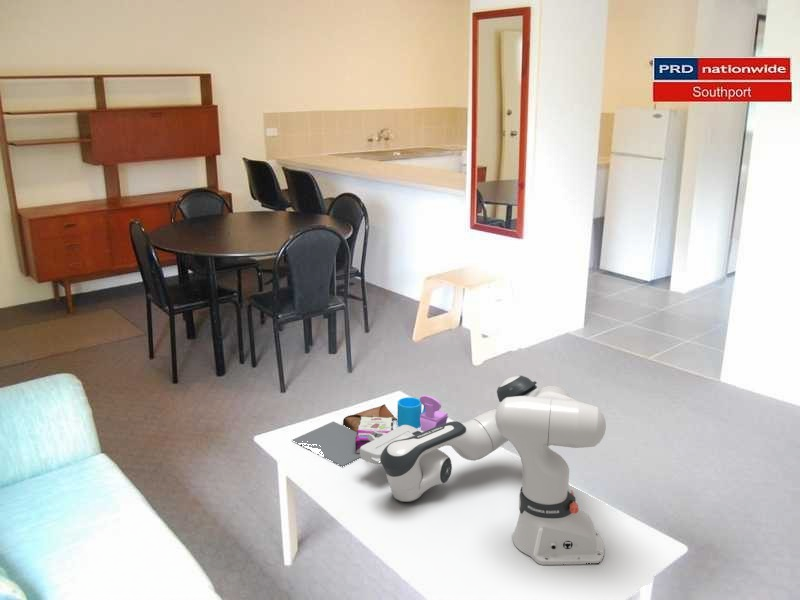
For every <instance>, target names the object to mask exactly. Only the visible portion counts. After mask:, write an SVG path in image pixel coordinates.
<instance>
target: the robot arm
mask: <svg viewBox="0 0 800 600" xmlns="http://www.w3.org/2000/svg"><path fill="white" fill-rule="evenodd" d="M536 384H538V382H537V381H532V380H531V379H530V378H529V377H526V376H524V375H515V376H514V375H513V376H510V377H508V378H506V379H505V380H504V381H503V382H502V383H501V384H500V386H498V387H497V389H496V394H497V399H498V401H499V402H500V403H499V404H498V406H497V408H494V409H491V410H487V411H485V412H483V413H480V414H479V415H477V416H475V417H472V418H471V419H469V420H467V421H465V422H460V421H455V420H454V421H448V422H446V423H445V424H442V425H439V426H437V427H434V428H432V429H429V430H427V431H422V430H421V429H418V428H417V429H416V428H414V427H412V426H409V425H402V426H400V427H399V426H398V427H396V428H393V430H392V431H390V432H388V433H378V432H376V431H374V432H372V433H370V434H368V439H369V440H370V441H371V442H369V443H367V444H365V445H363V446H361V447H360V457H361V458H360V459H361V460H363V461H365V462H368V463H370V464H372V465H381V466H382V469H383V471H384V473H385V476H386V479H387V481H388V482H387V483H388V485H389V487H390V491H391V493H392V496H393V498H394V499H395V500H396V501H398V502H402V503H413V502H415V501H417V500H418V499H420V498H421V497H422V495H423V494H424V493H425V492H426V491H428V490H429V489H431V488H432V487H434V486H439V485H443V484H445V483H447V481H448V480H449V478H450V477H451V475H452V471H453V466H452V465H453V464H452V459H451V457H450V456H449V455H448V454H446V453H445V452H444V451H442V450H440V448H442V447H446V446H450V447H451V448H452V450H453V451H454V452H456V453H457V455H459V456H460V457H461V458H463V459H465V460H467V461H471V462H472V461H473V462H475V461H479V460H481V459H484V458H485V457H486V456H489V455H490V454H491V453H493V452H495V451H496V450H498V449H500V447H501V446H503V445H504V444H505V443H507V442H508V441H509V443H511V445H513V447H514V448H515V449H516V451H517V453H518V455H519V458H520V460H521V465H522V466H521V467H522V469H521V470H522V485H521V487H520V491H519V495H518V496H519V497H518V499H519V500H518V508H519V514H518V518H517V521H516V522H517V523H516V526H515V528H514V532H513V534H512V542H513V544H514V545H515V547H516V548H517V549H518V550H519V551H520V552H522V553H524V554H525V555H527V556H529V557H530V558H532V559H533V560H534V561H535V562H536V563H537V564H538V565H541V566H546V565H547V566H548V565H549V566H552V565H554V566H555V565H557V566H558V565H562V566H563V564H564V565H592V564H591V563H599V562H600V563H601V562H602V561H603V560H604V557H605V544H604V540H603V539H604V538H603V537H602V536H601V535H602V534H600V532H599V531H598V530H597V529H596V528H595V525H594V521H593V520H592V518H591V517H590V515H589V514H588V513H586V512H585V511H583V510H582V509H581V508H579V504H578V503H576V497H575V494H574V492H573V490H570V491H569V480H570V467H569V465H568V463H567V461H566V460H565V458H564V457H562V456H561V455H560V454H559V453H557V452H556V451H554V450H553V449H551V448H550V446H555V447H556V446H557V447H563V448H571V449H580V448H581V449H582V448H594V447H596V446H598V444H600V443H601V441H602V440H603V439H604V437H605V434H606V429H607V425H606V417H605V415H604V413H603V411H602V410H601V409H600V408H599V407H598V406H596V405H592V404H590V403H586V402H583V401H579V400H578V399H575V398H572V397H571V396H570V395H569V393H567V391H566V390H565V389H563V388H562V387H560V386H557V385H546V386H544V387H541V388H538V386H537V385H536ZM603 556H604V557H603ZM602 559H603V560H602ZM601 560H602V561H601ZM586 563H587V564H586ZM588 563H590V564H588ZM600 563H599V564H600Z"/></svg>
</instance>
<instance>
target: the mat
mask: <svg viewBox="0 0 800 600" xmlns="http://www.w3.org/2000/svg"><path fill="white" fill-rule="evenodd" d="M356 435H357V432H355V431H353V430H351V429H349V428H347V427H346V426H344V425H342V424H340V423H337V422H335V421H331V422H329V423H327V424H324V425H322V426H320V427H317V428H315V429H313V430H311V431H309V432H307V433H305V434H302V435H300V436H298V437H295V438H293V439H292V440H293V441H295V442H297V443H307V444H311V445H312V444H317V446H316V445H314V446H313V445H312V446H311V445H309V447H312V448H318V449H321V451H322V452H323V454H324V457H325V458H327V459H329V460H331V461H333V462H335V463H337V464H339V465H340V466H339V465H338V466H339V467H341V466H342V467H341V468H344V467H346V466H348V465H350V464H352V463H354V462H356V461H358V460H359V458H360V459H361V457H360V453H356V445H355V439H356ZM302 441H303V442H302ZM307 441H308V442H307ZM307 444H306V445H304V444H303V445H304V446H308V445H307ZM301 445H302V444H301ZM319 445H320V446H321V447H320V446H319ZM321 451H320V452H321ZM320 452H319V453H320ZM320 454H321V453H320ZM323 454H322V455H323ZM325 458H324V459H325ZM327 459H326V460H327ZM357 459H358V460H357ZM329 460H328V461H329ZM355 460H356V461H355ZM331 461H330V462H331ZM353 461H354V462H353ZM333 462H332V463H333ZM351 462H352V463H351ZM335 463H334V464H335ZM349 463H350V464H349ZM337 464H336V465H337ZM347 464H348V465H347ZM345 465H346V466H345ZM343 466H344V467H343Z"/></svg>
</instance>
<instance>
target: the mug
mask: <svg viewBox="0 0 800 600" xmlns="http://www.w3.org/2000/svg"><path fill="white" fill-rule="evenodd" d="M422 406H423V409H422ZM423 413H425V406H424V405H423V404H422V403H421V402H420V398H417V397H411V396H410V397H409V396H407V397H402V398H400V399H398V401H397V426H398V427H400V426H402V425H409V426H412V427H414V428H416V429H418V428H421V423H420V417H421V414H423Z"/></svg>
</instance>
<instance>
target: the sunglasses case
mask: <svg viewBox="0 0 800 600" xmlns="http://www.w3.org/2000/svg"><path fill="white" fill-rule="evenodd" d="M360 417H392V418H393V422H394V421H398V418H396V417H395V416H394V415H393V413H392V412H391V410H390V409H388V407H387V406H386V404H382V405H380V406H377V407H372V408H369V409H366V410H363V411H361V412H358V413H354V414H350V415H347V416H345V417H344V418H343V420H342V424H343V425H342V426H344V425H345V426H344V427H346V428H347V427H348V428H350V429H351V430H353V431H355V432H357V431H358V426H359V422H360Z"/></svg>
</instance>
